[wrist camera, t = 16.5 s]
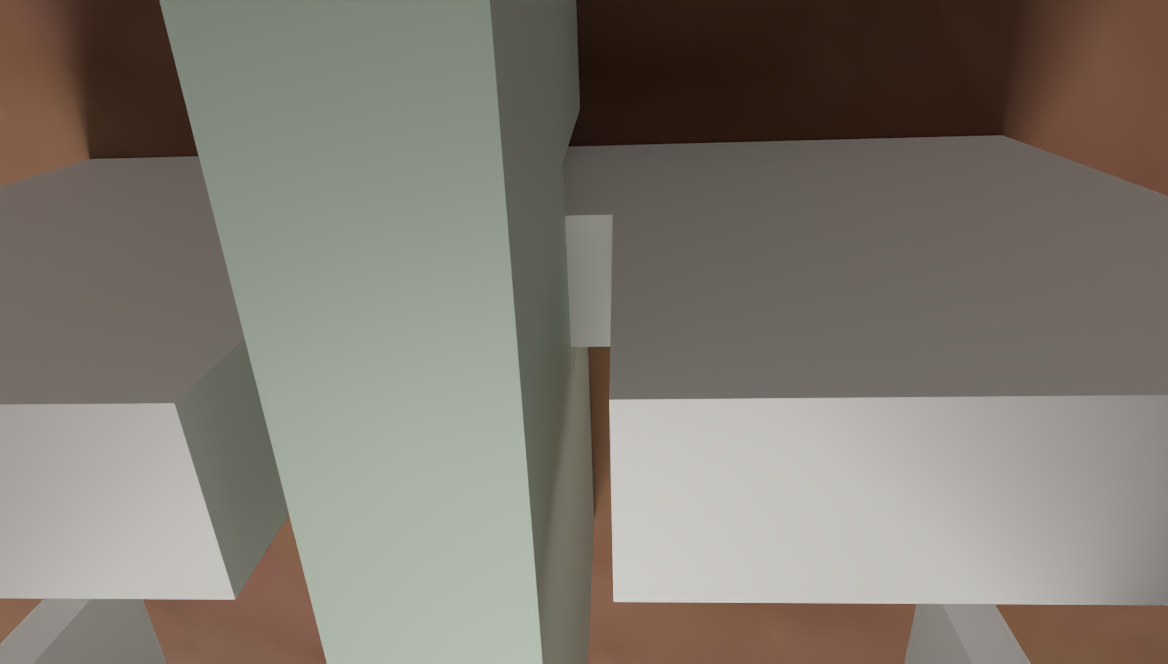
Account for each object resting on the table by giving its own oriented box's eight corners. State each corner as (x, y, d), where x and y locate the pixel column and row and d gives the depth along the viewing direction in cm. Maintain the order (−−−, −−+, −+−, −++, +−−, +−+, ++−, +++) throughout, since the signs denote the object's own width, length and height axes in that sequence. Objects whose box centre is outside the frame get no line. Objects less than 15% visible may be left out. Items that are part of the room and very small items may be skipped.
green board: (594, 519, 22) (571, 1028, 11) (515, 519, 22) (418, 1023, 11) (564, -332, 14) (365, -1576, 3) (438, -325, 14) (-218, -1491, 3)
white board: (1002, 135, 17) (1695, 391, 6) (982, 235, 18) (1545, 607, 7) (88, 158, 18) (-714, 410, 7) (117, 251, 19) (-547, 594, 8)
